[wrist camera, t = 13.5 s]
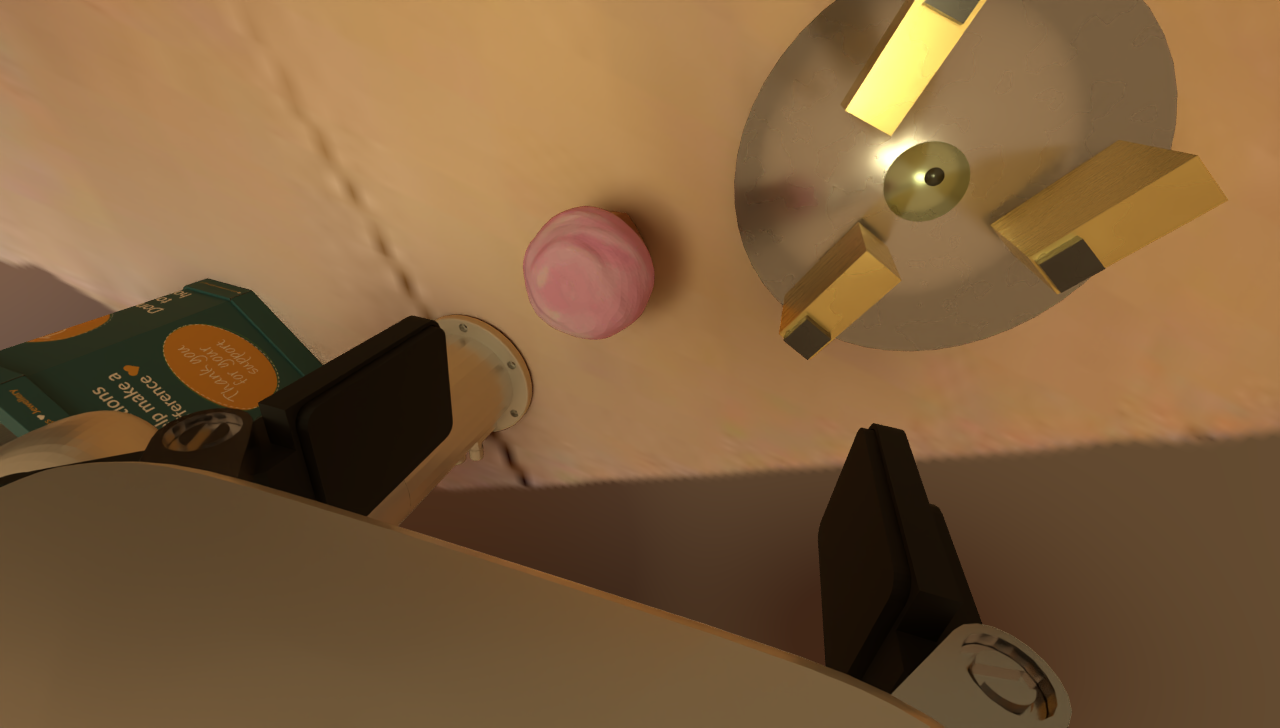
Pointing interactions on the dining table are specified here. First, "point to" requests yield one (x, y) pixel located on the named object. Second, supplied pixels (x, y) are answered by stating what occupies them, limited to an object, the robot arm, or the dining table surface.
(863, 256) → the golden block
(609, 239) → the cupcake
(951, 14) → the gold rectangular block
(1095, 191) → the gold flat block
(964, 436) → the dining table surface
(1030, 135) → the plate
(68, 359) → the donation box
